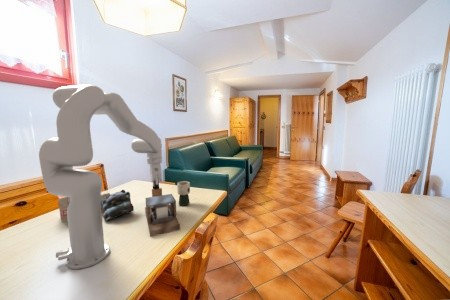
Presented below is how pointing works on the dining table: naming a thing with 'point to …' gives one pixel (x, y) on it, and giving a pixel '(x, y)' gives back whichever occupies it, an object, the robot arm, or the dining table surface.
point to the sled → (154, 193)
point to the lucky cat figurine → (117, 205)
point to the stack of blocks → (65, 202)
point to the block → (161, 211)
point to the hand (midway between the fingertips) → (156, 192)
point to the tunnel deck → (159, 227)
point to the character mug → (183, 192)
